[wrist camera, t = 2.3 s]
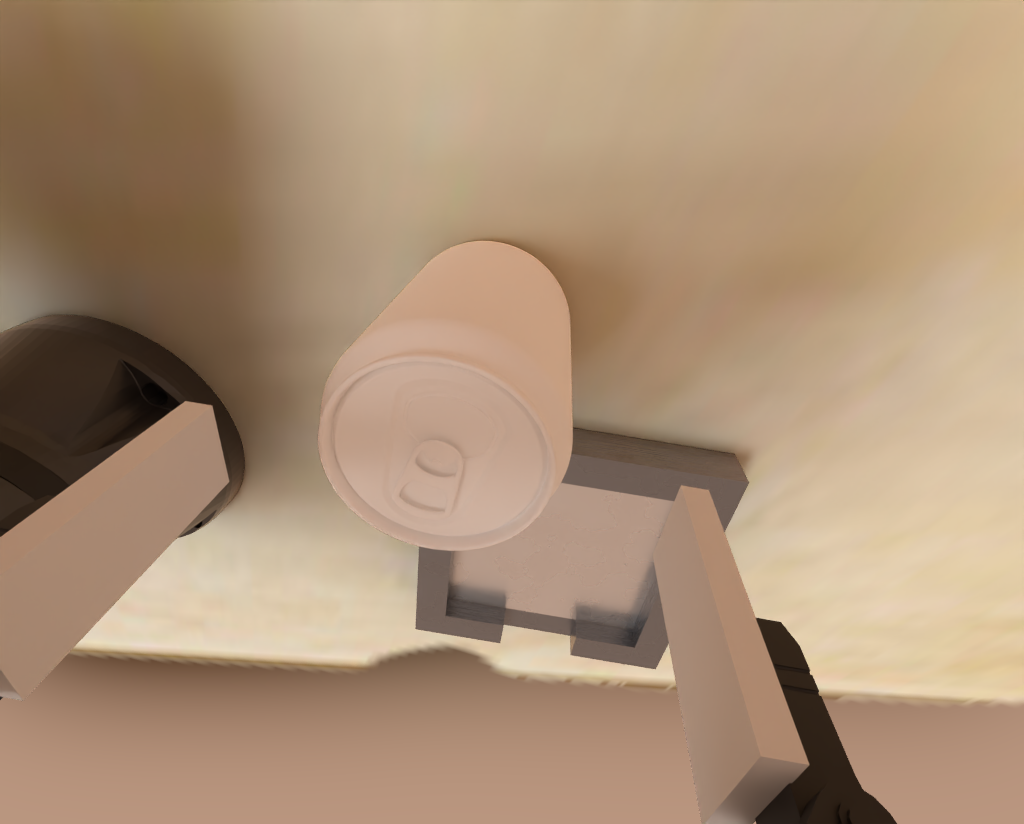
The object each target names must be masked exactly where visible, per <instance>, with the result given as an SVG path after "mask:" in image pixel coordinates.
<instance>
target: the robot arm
mask: <svg viewBox="0 0 1024 824" xmlns="http://www.w3.org/2000/svg"><path fill="white" fill-rule="evenodd" d="M244 469H245V460H244V451H243V446H242V442H241V439H240V436H239V433H238V431H237V428H236V426H235V424H234V422H233V420H232V418H231V416H230V415H229V413H228V411H227V410H226V408H225V407H224V405H223V404H222V402H221V401H220V399H219V398H218V397H217V395H216V394H215V393H214V392H213V391H212V389H211V388H210V387H209V386H208V385H207V384H206V383H205V382H204V381H203V379H202V378H201V377H199V376H198V375H197V374H196V373H195V372H194V371H193V370H192V369H191V368H190V367H189V366H187V365H186V364H185V363H184V362H183V361H181V360H180V359H179V358H178V357H176V356H175V355H173V354H172V353H171V352H169V351H168V350H166V349H165V348H163V347H162V346H160V345H159V344H157V343H155V342H153V341H152V340H150V339H148V338H146V337H144V336H142V335H140V334H138V333H136V332H134V331H132V330H130V329H127V328H125V327H122V326H120V325H117V324H114V323H111V322H108V321H104V320H100V319H96V318H91V317H86V316H78V315H52V316H45V317H41V318H37V319H34V320H31V321H29V322H26V323H24V324H21V325H18V326H16V327H13V328H11V329H8V330H6V331H4V332H1V333H0V700H1V699H2V698H3V697H6V698H11V699H17V700H22V701H23V700H25V699H26V697H27V696H28V695H29V694H30V693H31V692H32V691H33V690H34V689H35V688H36V687H37V686H38V685H39V684H40V683H41V681H42V680H43V679H44V678H45V677H46V676H47V675H48V674H49V673H50V672H51V671H52V670H53V669H54V668H55V667H56V666H57V665H58V663H59V662H60V661H61V660H62V659H63V658H64V657H65V656H66V655H67V654H68V653H69V652H70V651H71V650H72V649H73V648H74V646H75V645H76V644H77V643H78V642H79V641H80V640H81V639H82V638H83V637H84V636H85V635H86V634H87V633H88V632H89V630H90V629H91V628H92V627H93V626H94V625H95V624H96V623H97V622H98V621H99V620H100V619H101V618H102V617H103V616H104V615H105V613H106V612H107V611H108V610H109V609H110V608H111V607H112V606H113V605H114V604H115V603H116V602H117V601H118V600H119V599H120V598H121V596H122V595H123V594H124V593H125V592H126V591H127V590H128V589H129V588H130V587H131V586H132V585H133V584H134V583H135V582H136V580H137V579H138V578H139V577H140V576H141V575H142V574H143V573H144V572H145V571H146V570H147V569H148V568H149V567H150V566H151V565H152V563H153V562H154V561H155V560H156V559H157V558H158V557H159V556H160V555H161V554H162V553H163V552H164V551H165V550H166V549H167V548H168V546H169V545H170V544H171V543H172V542H173V541H174V540H175V539H177V538H179V537H183V536H186V535H189V534H191V533H193V532H195V531H197V530H199V529H200V528H202V527H204V526H205V525H207V524H208V523H210V522H211V521H212V520H213V519H214V518H215V517H217V516H218V515H219V514H220V512H221V511H222V510H223V509H224V508H225V507H226V506H227V504H228V503H229V502H230V501H231V500H232V499H233V498H234V496H235V495H236V493H237V492H238V490H239V488H240V486H241V483H242V480H243V476H244ZM653 560H654V566H655V571H656V577H657V582H658V588H659V593H660V598H661V604H662V609H663V615H664V620H665V626H666V631H667V637H668V642H669V648H670V653H671V658H672V664H673V669H674V675H675V680H676V686H677V691H678V697H679V702H680V707H681V713H682V718H683V724H684V729H685V735H686V740H687V745H688V751H689V756H690V762H691V767H692V772H693V778H694V784H695V789H696V794H697V800H698V806H699V811H700V817H701V822H702V824H753V823H754V822H755V821H756V824H897V823H896V822H895V820H894V819H893V817H892V816H891V814H890V813H889V812H888V811H887V810H886V809H885V808H884V807H883V806H882V805H881V804H880V803H879V802H878V801H877V800H876V799H875V798H874V797H873V796H871V795H869V794H868V793H867V792H865V791H864V790H863V789H862V787H861V785H860V784H859V782H858V780H857V778H856V776H855V774H854V772H853V769H852V767H851V765H850V762H849V760H848V758H847V755H846V753H845V751H844V748H843V746H842V744H841V741H840V739H839V737H838V734H837V732H836V730H835V727H834V725H833V723H832V720H831V718H830V716H829V714H828V711H827V709H826V706H825V704H824V702H823V699H822V697H821V696H819V694H818V692H819V690H818V688H817V685H816V683H815V681H814V678H813V676H812V675H810V669H809V667H808V664H807V662H806V660H805V657H804V655H803V653H802V650H801V648H800V646H799V644H798V643H797V642H796V641H795V639H794V638H793V637H792V636H791V634H790V633H789V632H788V631H787V629H786V628H785V627H784V626H783V624H782V623H781V622H777V621H771V620H765V619H760V618H756V617H755V615H754V612H753V609H752V607H751V604H750V601H749V598H748V596H747V593H746V590H745V587H744V585H743V582H742V579H741V576H740V574H739V571H738V568H737V566H736V563H735V560H734V557H733V555H732V552H731V549H730V546H729V544H728V541H727V538H726V535H725V533H724V530H723V527H722V525H721V522H720V519H719V516H718V514H717V511H716V508H715V505H714V503H713V500H712V497H711V495H710V492H709V490H706V489H700V488H694V487H688V486H682V485H681V486H680V489H679V491H678V494H677V496H676V499H675V501H674V504H673V506H672V508H671V511H670V513H669V516H668V518H667V521H666V523H665V526H664V528H663V531H662V533H661V535H660V538H659V540H658V543H657V545H656V548H655V550H654V553H653Z"/></svg>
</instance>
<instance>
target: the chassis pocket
mask: <svg viewBox="0 0 1024 824" xmlns="http://www.w3.org/2000/svg"><path fill="white" fill-rule="evenodd" d="M748 484H749V482H748V480H747V478H746V476H745V474H744V472H743V470H742V468H741V466H740V464H739V462H738V460H737V458H736V456H735V454H731V453H725V452H718V451H712V450H706V449H700V448H694V447H688V446H681V445H675V444H669V443H663V442H657V441H651V440H644V439H638V438H632V437H626V436H620V435H613V434H607V433H601V432H595V431H589V430H583V429H576V428H573V444H572V452H571V457H570V461H569V465H568V468H567V471H566V473H565V475H564V478H563V480H562V482H561V483H560V485H559V487H558V488H557V490H556V491H555V493H554V494H553V495H552V496H551V498H550V499H549V501H548V503H547V504H546V506H545V508H544V509H543V511H542V512H541V513H540V515H539V516H538V517H537V518H536V519H535V520H534V521H533V522H532V523H531V524H530V525H529V526H528V527H527V528H526V529H524V530H523V531H521V532H520V533H518V534H517V535H515V536H513V537H512V538H510V539H508V540H505V541H503V542H501V543H498V544H495V545H492V546H488V547H484V548H479V549H473V550H463V551H447V550H436V549H429V548H424V547H420V546H419V564H418V587H417V610H416V629H418V630H424V631H430V632H436V633H442V634H448V635H454V636H460V637H466V638H472V639H478V640H484V641H490V642H496V643H500V641H501V636H502V631H503V625H510V626H516V627H522V628H528V629H534V630H540V631H546V632H552V633H558V634H564V635H570V649H571V655H574V656H580V657H585V658H591V659H597V660H603V661H609V662H615V663H621V664H627V665H633V666H639V667H645V668H651V669H656V667H657V665H658V663H659V661H660V659H661V657H662V655H663V653H664V651H665V649H666V647H667V645H668V643H669V642H668V637H667V631H666V626H665V620H664V615H663V609H662V604H661V598H660V593H659V588H658V582H657V577H656V571H655V566H654V560H653V553H654V550H655V548H656V545H657V543H658V540H659V538H660V535H661V533H662V531H663V528H664V526H665V523H666V521H667V518H668V516H669V513H670V511H671V508H672V506H673V504H674V501H675V499H676V496H677V494H678V491H679V489H680V486H681V485H682V486H688V487H694V488H700V489H706V490H709V492H710V495H711V497H712V500H713V503H714V505H715V508H716V511H717V514H718V516H719V519H720V522H721V525H722V527H723V530H724V532H725V530H726V528H727V526H728V524H729V522H730V520H731V518H732V516H733V514H734V512H735V510H736V508H737V506H738V504H739V502H740V500H741V498H742V496H743V494H744V492H745V490H746V488H747V486H748Z"/></svg>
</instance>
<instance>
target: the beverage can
mask: <svg viewBox="0 0 1024 824" xmlns="http://www.w3.org/2000/svg"><path fill="white" fill-rule="evenodd" d="M572 444H573V419H572V373H571V326H570V313H569V308H568V304H567V300H566V297H565V295H564V292H563V290H562V288H561V286H560V285H559V283H558V281H557V280H556V278H555V277H554V275H553V274H552V273H551V272H550V271H549V270H548V268H547V267H546V266H545V265H543V264H542V263H541V262H540V261H539V260H538V259H536V258H535V257H533V256H532V255H530V254H529V253H527V252H525V251H523V250H521V249H519V248H517V247H514V246H512V245H508V244H505V243H500V242H494V241H473V242H467V243H462V244H459V245H456V246H453V247H451V248H449V249H447V250H445V251H443V252H441V253H440V254H438V255H437V256H435V257H434V258H433V259H432V260H431V261H429V262H428V263H427V264H426V265H425V266H424V267H423V269H422V270H421V271H420V272H419V273H418V274H417V275H416V276H415V277H414V278H413V279H412V280H411V281H410V282H409V284H408V285H407V286H406V287H405V288H404V289H403V290H402V291H401V292H400V293H399V294H398V295H397V296H396V298H395V299H394V300H393V301H392V302H391V303H390V304H389V305H388V306H387V307H386V308H385V309H384V310H383V311H382V313H381V314H380V315H379V316H378V317H377V318H376V319H375V320H374V321H373V322H372V323H371V324H370V325H369V326H368V328H367V329H366V330H365V331H364V332H363V333H362V334H361V335H360V336H359V337H358V338H357V339H356V340H355V342H354V343H353V344H352V345H351V346H350V347H349V348H348V349H347V350H346V351H345V352H344V354H343V355H342V356H341V357H340V359H339V360H338V361H337V363H336V364H335V366H334V367H333V369H332V371H331V373H330V375H329V377H328V380H327V382H326V385H325V388H324V392H323V396H322V402H321V419H320V423H319V429H318V449H319V455H320V459H321V463H322V466H323V469H324V471H325V474H326V476H327V478H328V480H329V482H330V483H331V485H332V487H333V488H334V490H335V491H336V493H337V494H338V495H339V497H340V498H341V499H342V500H343V502H344V503H345V504H346V505H347V506H348V507H349V508H350V509H351V510H352V511H353V512H354V513H355V514H357V515H358V516H359V517H360V518H361V519H363V520H364V521H365V522H367V523H368V524H370V525H371V526H373V527H374V528H376V529H378V530H379V531H381V532H383V533H385V534H387V535H389V536H391V537H393V538H396V539H398V540H400V541H403V542H406V543H409V544H412V545H416V546H420V547H424V548H429V549H436V550H447V551H463V550H473V549H479V548H484V547H488V546H492V545H495V544H498V543H501V542H503V541H505V540H508V539H510V538H512V537H513V536H515V535H517V534H518V533H520V532H521V531H523V530H524V529H526V528H527V527H528V526H529V525H530V524H531V523H532V522H533V521H534V520H535V519H536V518H537V517H538V516H539V515H540V513H541V512H542V511H543V509H544V508H545V506H546V504H547V503H548V501H549V499H550V498H551V496H552V495H553V494H554V493H555V491H556V490H557V488H558V487H559V485H560V483H561V482H562V480H563V478H564V475H565V473H566V471H567V468H568V465H569V461H570V457H571V452H572Z"/></svg>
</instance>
